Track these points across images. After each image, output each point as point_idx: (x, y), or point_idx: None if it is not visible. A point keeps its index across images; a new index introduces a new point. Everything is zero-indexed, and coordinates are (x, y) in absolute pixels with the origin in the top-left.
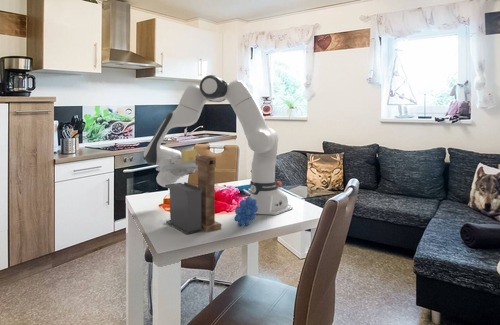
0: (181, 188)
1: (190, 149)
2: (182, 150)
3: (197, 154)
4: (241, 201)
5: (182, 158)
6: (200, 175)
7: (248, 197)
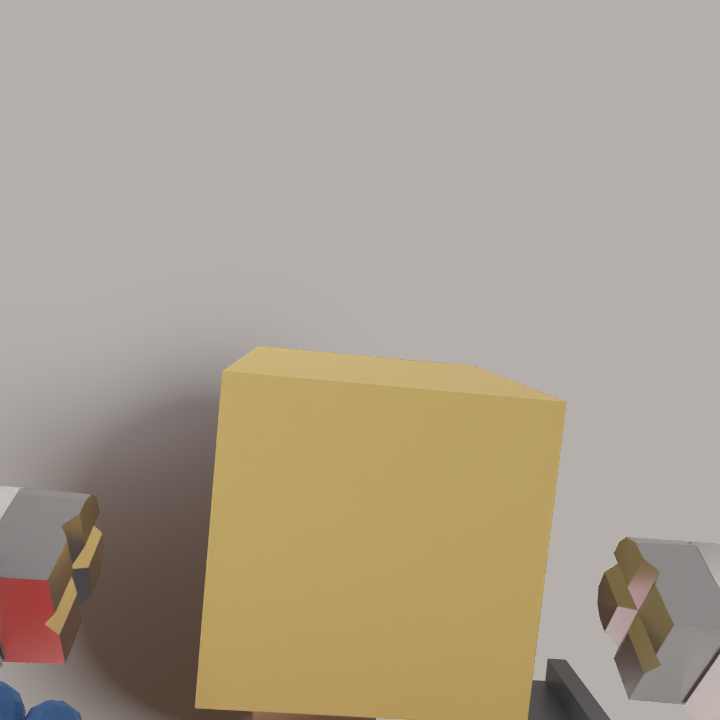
0: (601, 708)
1: (286, 369)
2: (551, 412)
3: (72, 501)
4: (74, 712)
5: (527, 660)
6: None
7: (2, 685)
